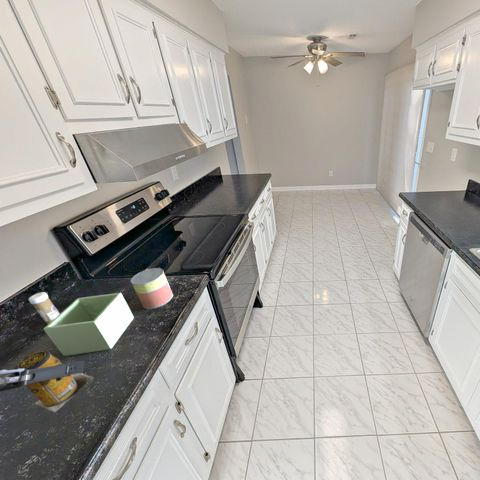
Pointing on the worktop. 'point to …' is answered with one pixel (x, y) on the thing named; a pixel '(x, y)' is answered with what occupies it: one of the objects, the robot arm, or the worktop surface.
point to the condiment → (52, 382)
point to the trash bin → (90, 324)
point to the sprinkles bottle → (44, 307)
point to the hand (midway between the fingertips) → (67, 368)
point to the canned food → (152, 288)
